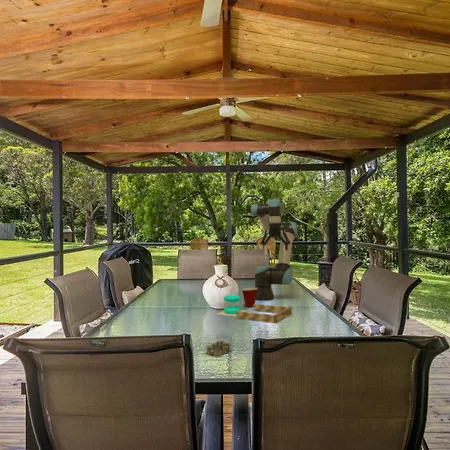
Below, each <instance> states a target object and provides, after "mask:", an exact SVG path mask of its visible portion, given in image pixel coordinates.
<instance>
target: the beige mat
mask: <svg viewBox="0 0 450 450" xmlns="http://www.w3.org/2000/svg"><path fill="white" fill-rule="evenodd" d="M241 312H249V310H243V309H241ZM215 315H216V316H225V317H233V318H236V314H228V313H225V312H224V310H222V311H220V312H216V313H215Z"/></svg>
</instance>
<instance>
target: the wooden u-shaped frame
mask: <svg viewBox="0 0 450 450" xmlns="http://www.w3.org/2000/svg"><path fill="white" fill-rule="evenodd" d="M252 308H253V312H241V311H237V312H236V317H235V318H236V319H237V320H244V321H253V322H262V323H269V324H277V323H279V322H281V321H282V320H284V319H286V318H287V317H290V316H291V315H292V313H293V310H292V307H291V306H279V305H272V304H271V305H269V304H260V303H259V304H257V303H255V304H253V307H252ZM261 312H262V313H261ZM267 313H271V314H267Z"/></svg>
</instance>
